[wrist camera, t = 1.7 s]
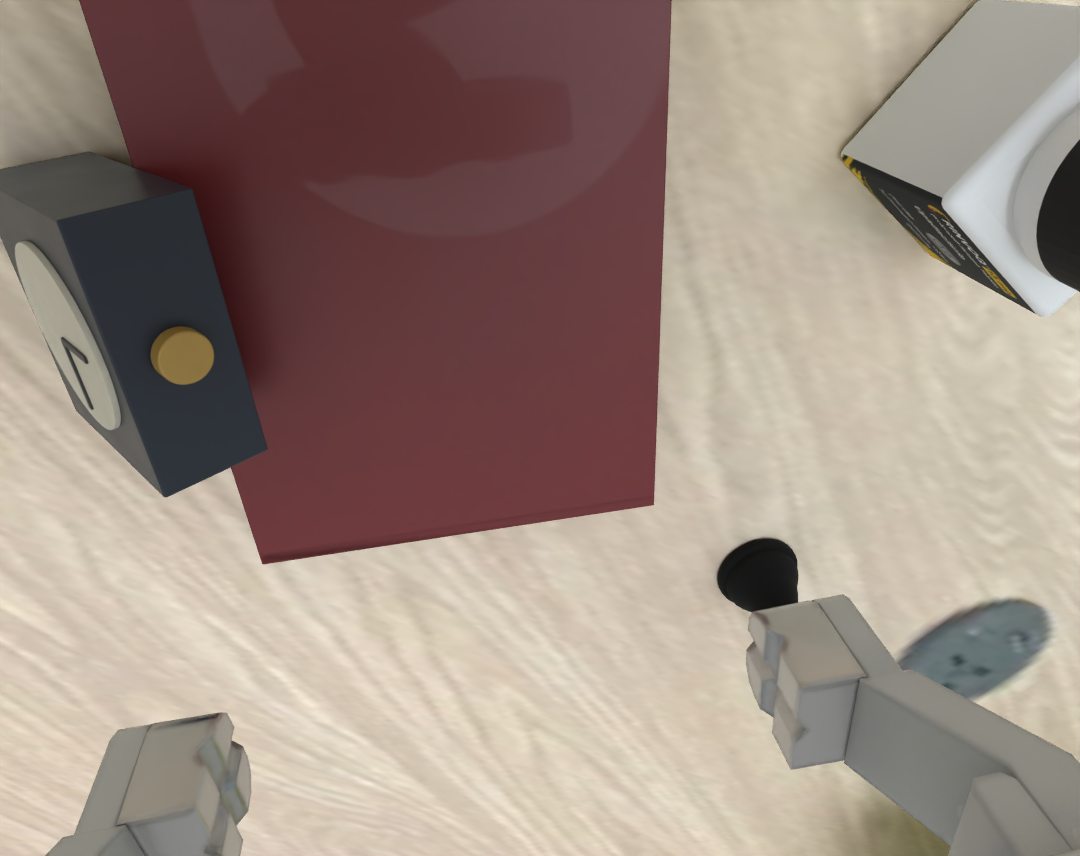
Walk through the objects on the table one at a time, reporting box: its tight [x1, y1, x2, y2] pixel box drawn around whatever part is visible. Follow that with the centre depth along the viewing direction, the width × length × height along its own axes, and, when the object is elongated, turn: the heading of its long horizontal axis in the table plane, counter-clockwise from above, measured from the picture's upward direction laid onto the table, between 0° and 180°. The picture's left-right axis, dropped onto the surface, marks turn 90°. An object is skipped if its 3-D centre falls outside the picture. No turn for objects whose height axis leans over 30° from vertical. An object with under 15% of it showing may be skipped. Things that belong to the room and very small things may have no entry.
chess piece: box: [718, 539, 798, 612], centre depth 38 cm, size 4×4×10 cm
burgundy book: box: [79, 0, 672, 564], centre depth 28 cm, size 24×17×3 cm
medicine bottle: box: [841, 0, 1080, 317], centre depth 26 cm, size 7×7×12 cm
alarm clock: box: [0, 152, 268, 497], centre depth 25 cm, size 9×7×8 cm
